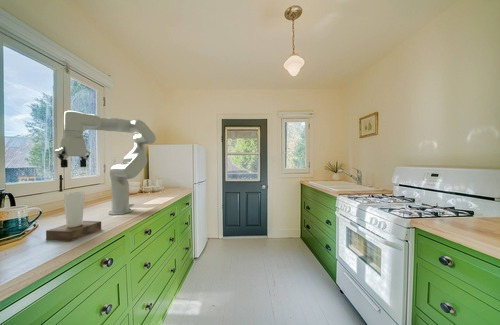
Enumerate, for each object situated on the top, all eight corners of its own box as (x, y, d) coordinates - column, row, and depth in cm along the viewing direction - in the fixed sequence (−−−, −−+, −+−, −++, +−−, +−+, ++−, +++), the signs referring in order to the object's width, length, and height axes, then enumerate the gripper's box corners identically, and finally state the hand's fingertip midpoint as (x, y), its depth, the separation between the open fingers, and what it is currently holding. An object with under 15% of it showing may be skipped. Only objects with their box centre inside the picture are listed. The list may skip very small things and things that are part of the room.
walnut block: (79, 228, 95) (79, 220, 95) (101, 229, 93) (101, 221, 93) (46, 240, 81) (46, 230, 81) (70, 241, 80) (70, 231, 80)
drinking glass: (72, 229, 83) (72, 194, 83) (59, 228, 84) (59, 193, 84) (88, 224, 89) (88, 191, 89) (76, 223, 91) (76, 191, 91)
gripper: (83, 137, 111) (83, 166, 111) (49, 132, 94) (49, 167, 94) (95, 137, 111) (95, 166, 110) (62, 132, 93) (62, 167, 93)
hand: (74, 167), depth 102 cm, fingers open, 9 cm apart
